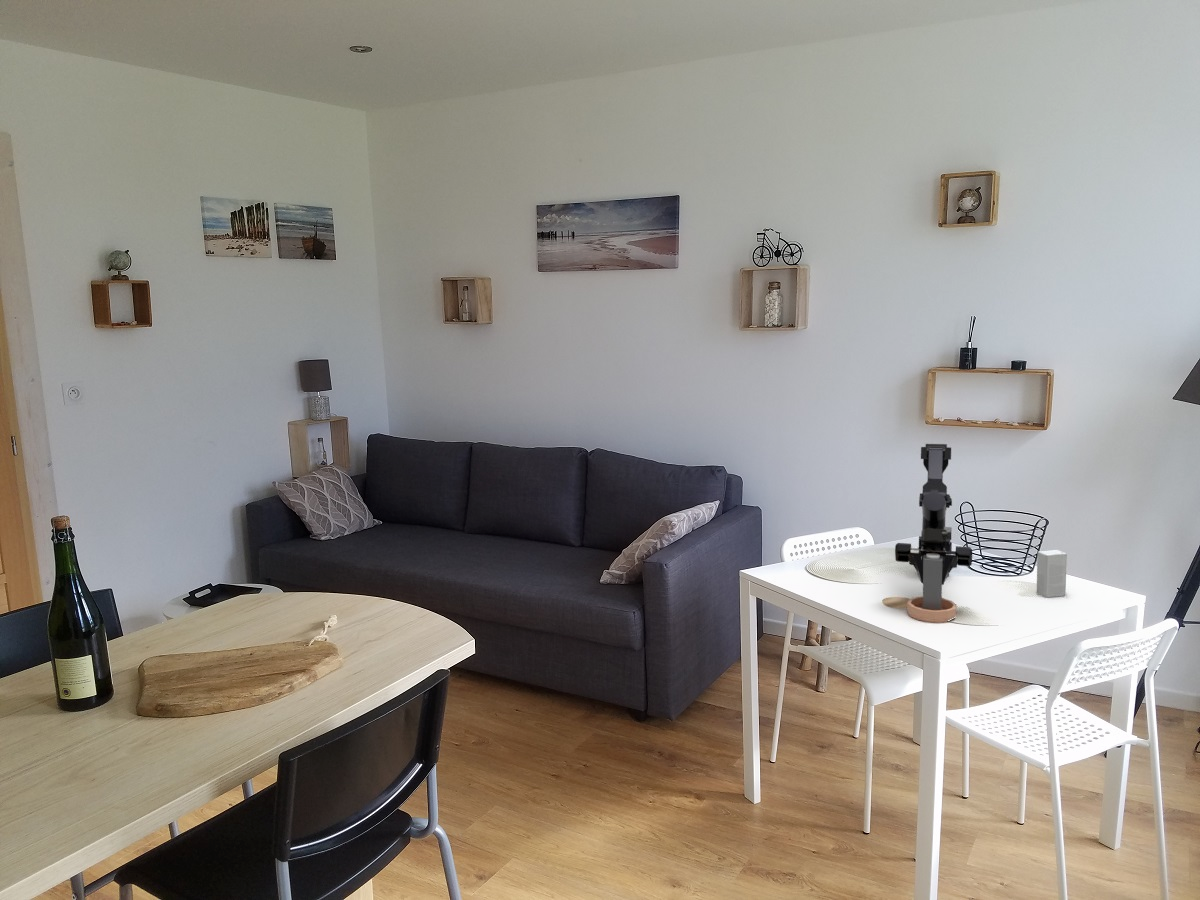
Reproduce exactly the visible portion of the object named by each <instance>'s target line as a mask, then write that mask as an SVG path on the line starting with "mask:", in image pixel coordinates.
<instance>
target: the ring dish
mask: <svg viewBox="0 0 1200 900" xmlns="http://www.w3.org/2000/svg"><path fill="white" fill-rule="evenodd" d="M957 607H958V605H957V603H955V602H954V601H952V600H949V599H946V598H943V597H942V600H941V610H937V609H925V608H923V596H915V597H912V598H909V601H908V603H907V609H906V610H907V615H908V616H909V617H910V618H912V619H915V620H916V621H917V620H918V621H920V622H924V623H925V622H926V623H932V624H933V623H936V624H939V623H940V624H941V623H943V624H944V623H948V622H947V621H948V620H950V619H952V618H954V617H955V616H956V617H957V611H958V610H957Z"/></svg>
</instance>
